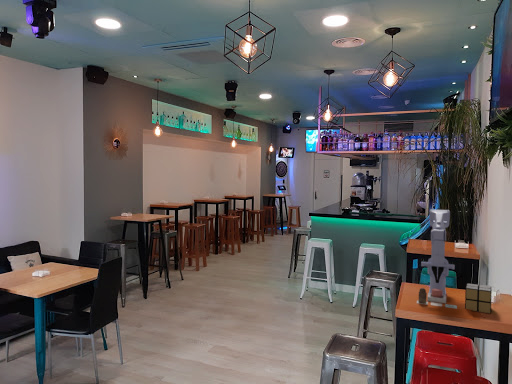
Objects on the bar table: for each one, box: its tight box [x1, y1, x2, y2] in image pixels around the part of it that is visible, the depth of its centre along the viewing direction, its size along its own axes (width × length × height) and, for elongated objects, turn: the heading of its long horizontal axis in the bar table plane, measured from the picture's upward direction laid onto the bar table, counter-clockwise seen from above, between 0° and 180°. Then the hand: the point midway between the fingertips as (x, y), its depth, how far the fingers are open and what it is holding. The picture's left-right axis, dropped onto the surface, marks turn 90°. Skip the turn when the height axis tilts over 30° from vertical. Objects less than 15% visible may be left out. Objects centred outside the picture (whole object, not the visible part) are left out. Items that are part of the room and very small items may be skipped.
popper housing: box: [426, 292, 447, 304], centre depth 187 cm, size 8×8×2 cm
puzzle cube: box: [464, 283, 493, 314], centre depth 176 cm, size 10×10×10 cm
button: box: [431, 289, 443, 298], centre depth 187 cm, size 5×5×3 cm
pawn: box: [418, 287, 428, 305], centre depth 182 cm, size 3×3×7 cm
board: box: [416, 299, 458, 309], centre depth 180 cm, size 6×18×1 cm, turn 64°
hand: (437, 282), depth 187 cm, fingers closed
